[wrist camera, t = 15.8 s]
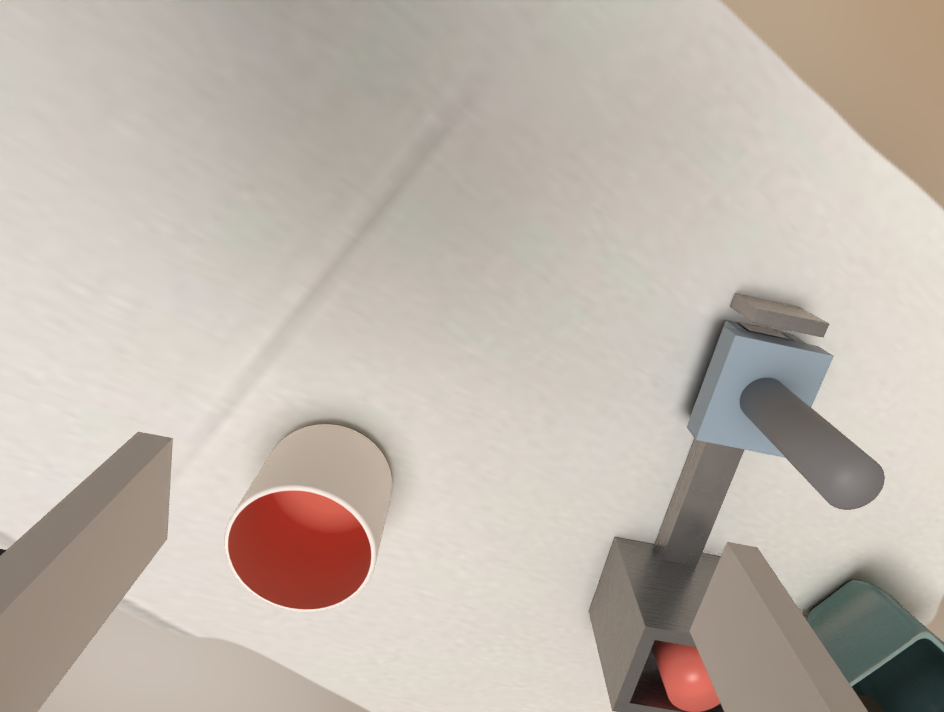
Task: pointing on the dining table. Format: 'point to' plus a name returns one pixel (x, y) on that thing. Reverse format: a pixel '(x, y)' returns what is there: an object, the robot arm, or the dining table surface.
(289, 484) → the cup
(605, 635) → the open box
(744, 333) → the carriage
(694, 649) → the button
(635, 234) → the dining table surface
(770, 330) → the rail
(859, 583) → the flower pot
